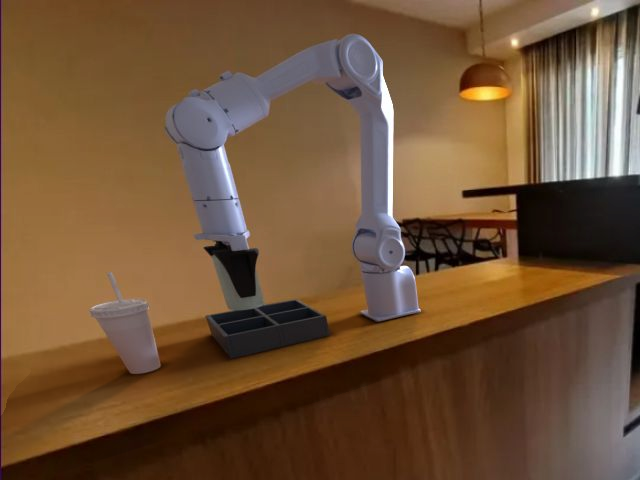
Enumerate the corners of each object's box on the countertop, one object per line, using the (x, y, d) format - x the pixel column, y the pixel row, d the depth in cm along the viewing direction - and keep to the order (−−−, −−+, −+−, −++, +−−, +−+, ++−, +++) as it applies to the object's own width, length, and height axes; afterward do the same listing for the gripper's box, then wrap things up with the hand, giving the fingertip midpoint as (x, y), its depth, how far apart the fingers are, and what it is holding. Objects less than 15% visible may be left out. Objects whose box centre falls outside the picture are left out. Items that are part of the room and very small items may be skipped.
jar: (260, 299, 73) (246, 250, 69) (269, 305, 69) (255, 253, 66) (224, 305, 70) (208, 254, 66) (232, 312, 66) (215, 258, 63)
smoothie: (182, 360, 67) (147, 268, 61) (146, 378, 61) (104, 278, 55) (144, 359, 68) (105, 268, 62) (105, 377, 62) (59, 278, 56)
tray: (300, 316, 87) (296, 299, 85) (330, 335, 77) (326, 315, 75) (211, 335, 78) (205, 315, 76) (231, 358, 67) (224, 336, 66)
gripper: (175, 199, 65) (204, 289, 71) (191, 202, 56) (224, 307, 61) (229, 197, 70) (252, 282, 75) (252, 199, 60) (277, 297, 66)
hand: (243, 293), depth 69 cm, fingers closed on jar, 5 cm apart
